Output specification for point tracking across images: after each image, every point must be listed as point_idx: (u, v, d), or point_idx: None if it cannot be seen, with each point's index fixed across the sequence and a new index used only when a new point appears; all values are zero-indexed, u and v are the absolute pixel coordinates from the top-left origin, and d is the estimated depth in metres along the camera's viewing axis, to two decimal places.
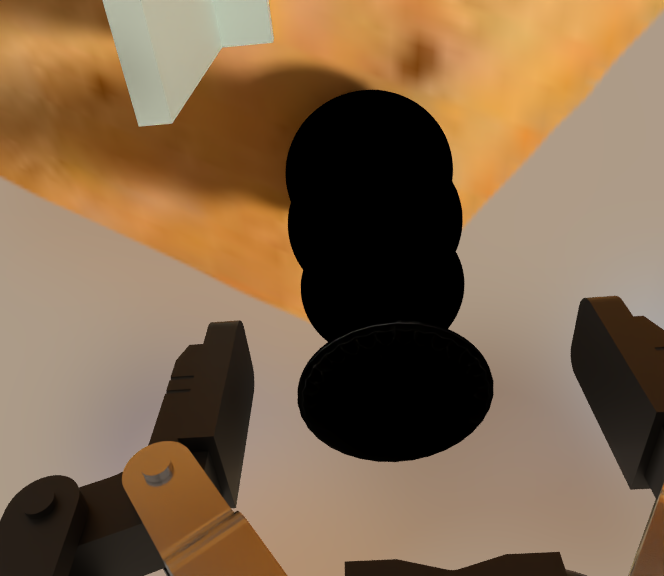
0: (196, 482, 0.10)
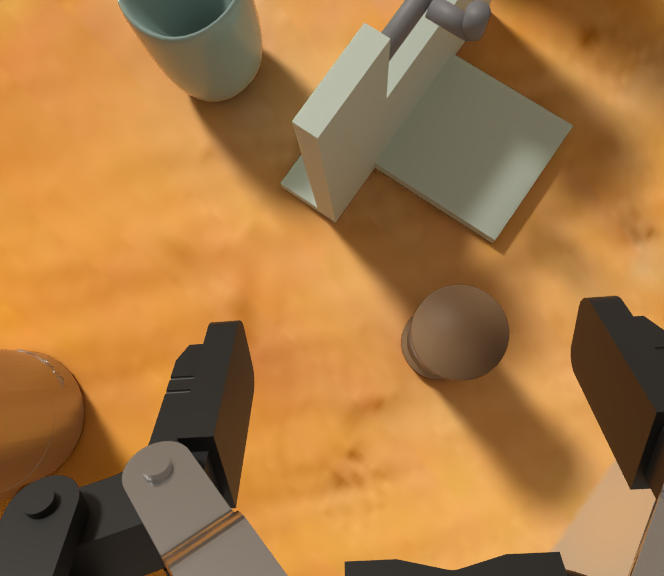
0: (196, 482, 0.10)
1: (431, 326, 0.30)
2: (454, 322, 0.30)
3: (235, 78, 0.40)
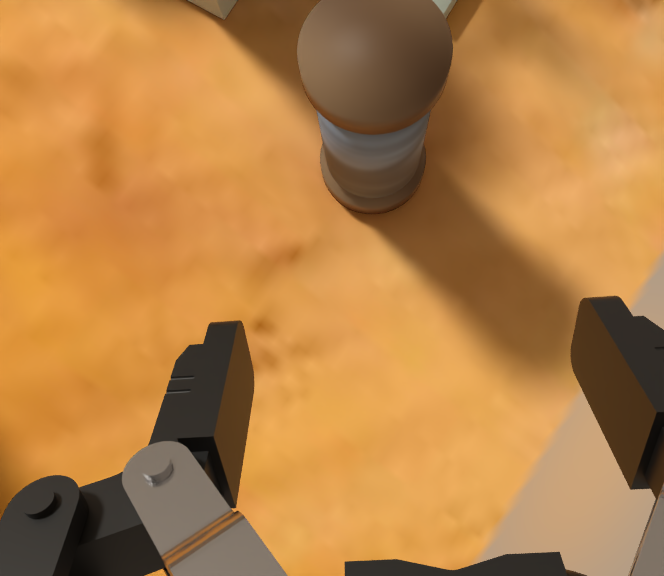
0: (196, 482, 0.10)
1: (328, 44, 0.19)
2: (364, 35, 0.19)
3: None
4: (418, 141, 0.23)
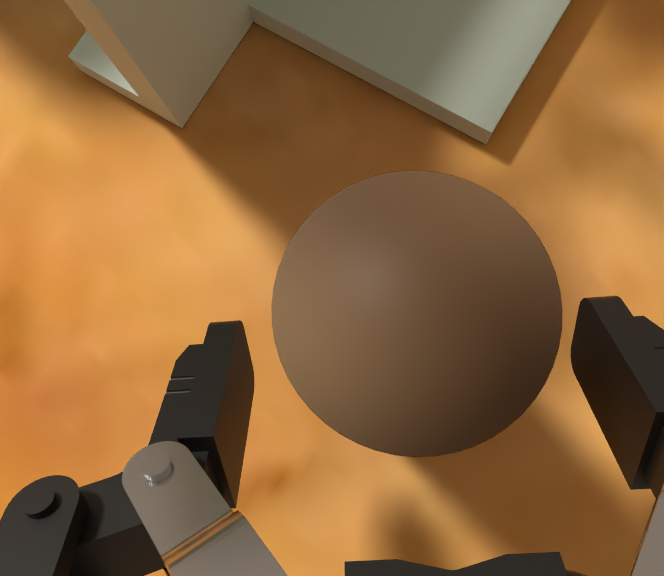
0: (196, 482, 0.10)
1: (328, 298, 0.10)
2: (396, 281, 0.10)
3: None
4: None
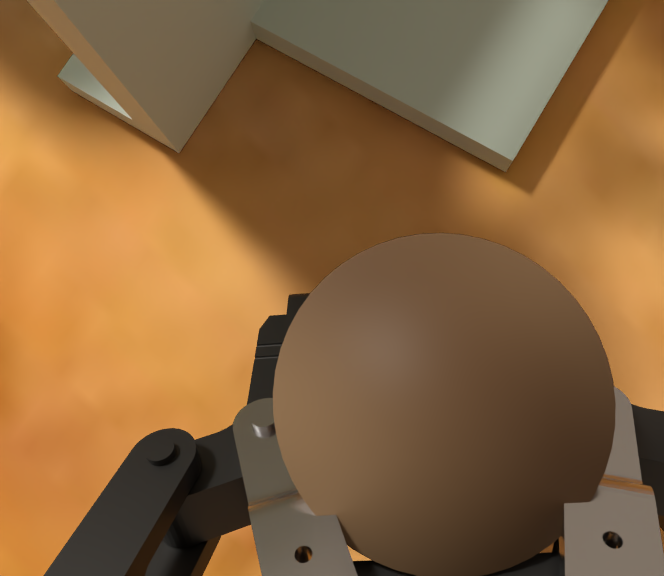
0: None
1: (339, 384, 0.09)
2: (419, 365, 0.09)
3: None
4: None
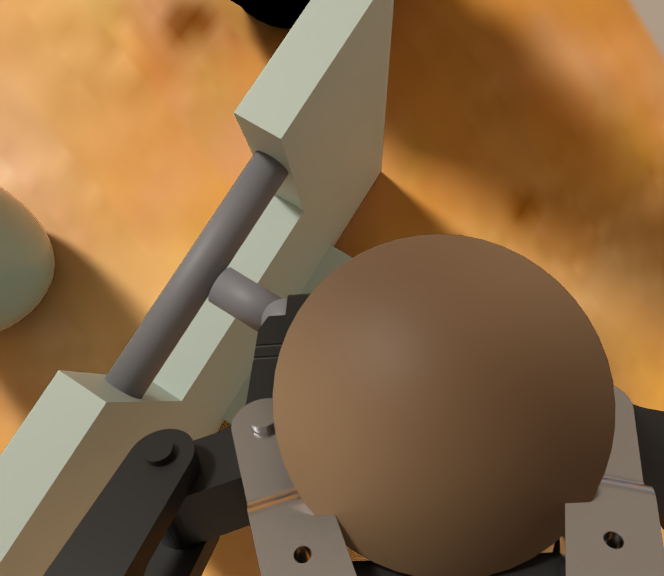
0: None
1: (339, 385, 0.09)
2: (418, 366, 0.09)
3: None
4: None
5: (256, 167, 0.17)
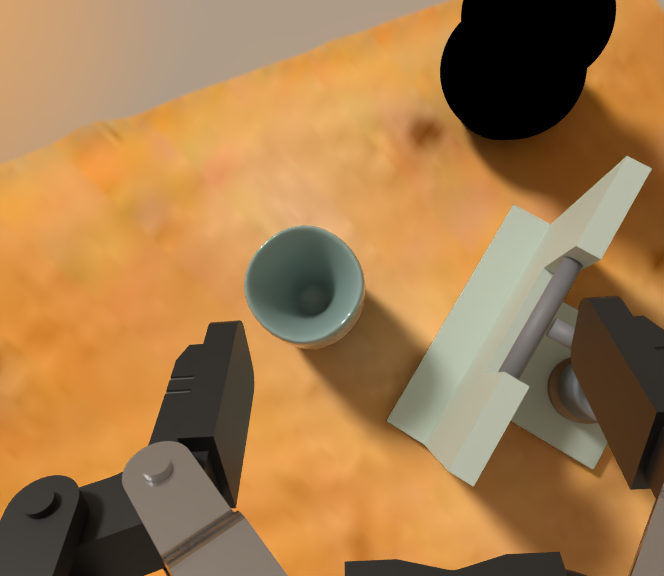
0: (196, 482, 0.10)
1: None
2: None
3: None
4: None
5: (570, 266, 0.34)
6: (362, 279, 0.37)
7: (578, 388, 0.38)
